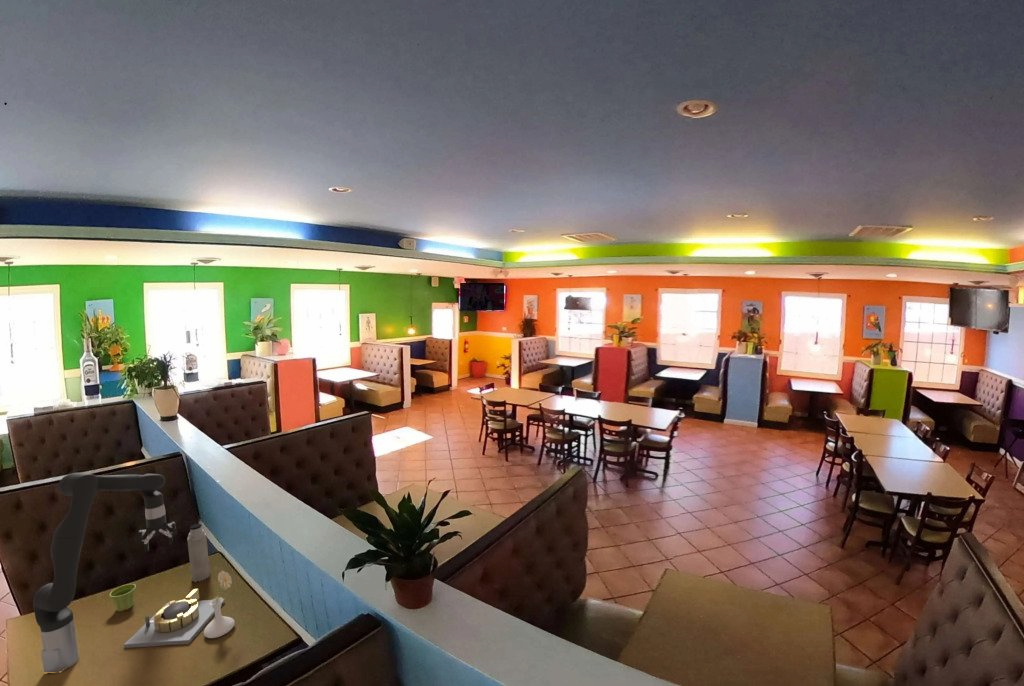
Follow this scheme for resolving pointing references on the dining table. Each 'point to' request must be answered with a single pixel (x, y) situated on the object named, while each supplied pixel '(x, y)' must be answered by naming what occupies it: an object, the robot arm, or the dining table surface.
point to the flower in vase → (220, 622)
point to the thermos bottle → (198, 553)
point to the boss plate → (178, 636)
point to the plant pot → (123, 597)
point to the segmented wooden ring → (181, 618)
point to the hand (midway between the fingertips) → (159, 547)
